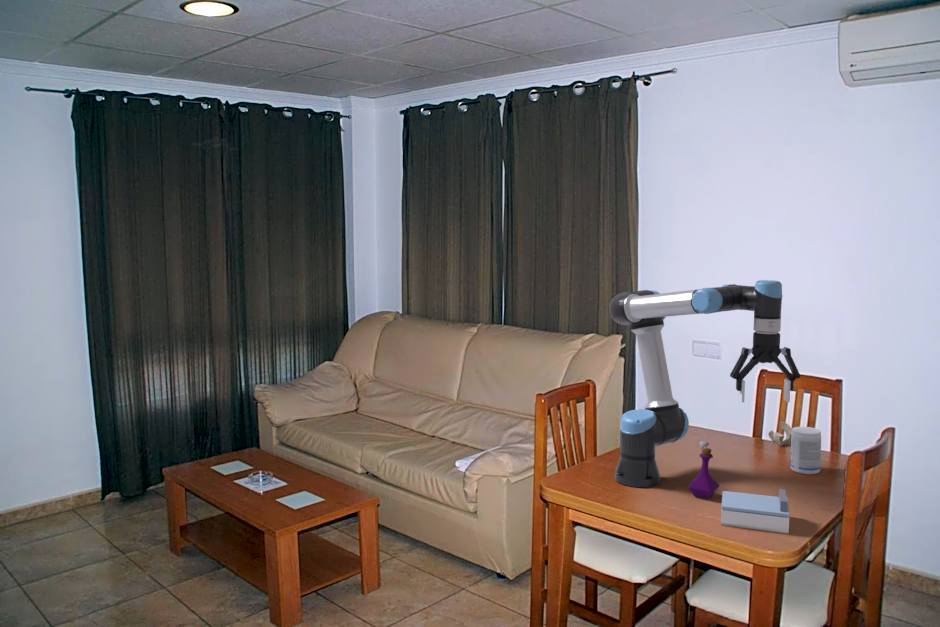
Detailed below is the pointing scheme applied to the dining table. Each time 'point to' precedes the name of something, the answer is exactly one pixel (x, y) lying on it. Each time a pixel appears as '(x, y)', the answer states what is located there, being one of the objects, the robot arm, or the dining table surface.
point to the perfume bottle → (704, 476)
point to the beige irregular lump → (778, 437)
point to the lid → (756, 503)
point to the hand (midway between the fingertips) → (763, 401)
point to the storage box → (755, 521)
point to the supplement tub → (805, 450)
